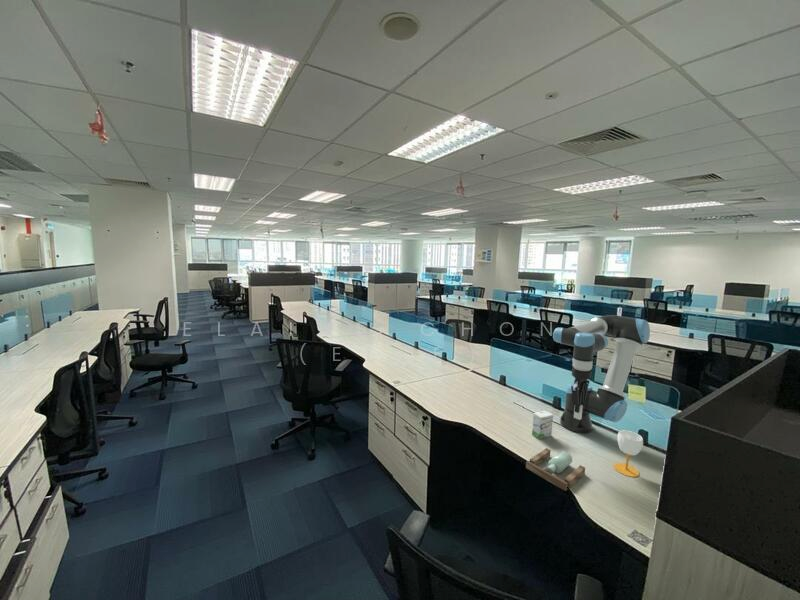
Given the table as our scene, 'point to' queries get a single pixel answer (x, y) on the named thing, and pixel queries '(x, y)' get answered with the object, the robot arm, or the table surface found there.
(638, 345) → the robot arm
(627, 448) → the cup
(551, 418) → the ink box
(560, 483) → the u rest
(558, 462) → the bottle
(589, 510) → the table surface
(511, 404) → the table surface
